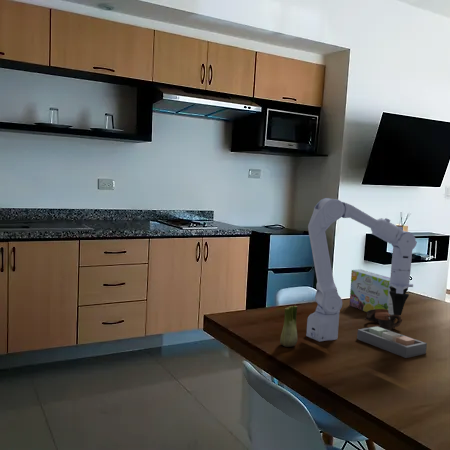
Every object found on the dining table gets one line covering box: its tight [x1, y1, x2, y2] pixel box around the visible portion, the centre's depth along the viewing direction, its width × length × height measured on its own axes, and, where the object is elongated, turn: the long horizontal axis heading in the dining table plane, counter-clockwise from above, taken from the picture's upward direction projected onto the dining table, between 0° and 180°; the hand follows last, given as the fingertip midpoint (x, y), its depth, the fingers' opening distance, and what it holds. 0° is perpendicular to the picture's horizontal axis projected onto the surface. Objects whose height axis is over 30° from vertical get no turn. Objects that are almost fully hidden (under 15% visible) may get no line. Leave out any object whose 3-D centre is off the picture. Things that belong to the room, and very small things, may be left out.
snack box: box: [349, 268, 394, 319], centre depth 191 cm, size 21×6×15 cm, turn 25°
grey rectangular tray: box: [356, 325, 428, 359], centre depth 147 cm, size 9×18×4 cm, turn 33°
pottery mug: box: [364, 309, 403, 331], centre depth 168 cm, size 12×10×8 cm
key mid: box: [382, 330, 400, 342], centre depth 147 cm, size 4×4×2 cm
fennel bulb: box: [279, 305, 298, 348], centre depth 145 cm, size 6×5×12 cm
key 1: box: [368, 326, 387, 337], centre depth 151 cm, size 4×4×2 cm
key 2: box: [396, 335, 415, 346], centre depth 143 cm, size 4×4×2 cm
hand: (397, 311), depth 154 cm, fingers open, 7 cm apart
